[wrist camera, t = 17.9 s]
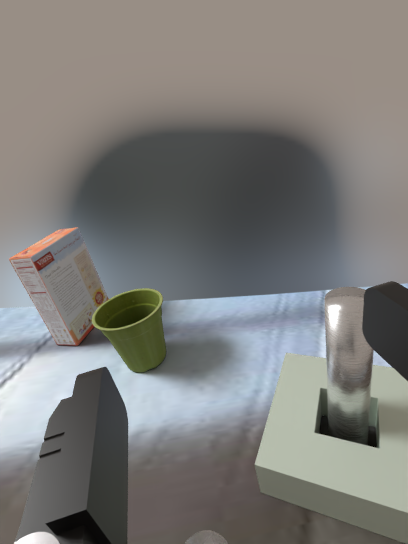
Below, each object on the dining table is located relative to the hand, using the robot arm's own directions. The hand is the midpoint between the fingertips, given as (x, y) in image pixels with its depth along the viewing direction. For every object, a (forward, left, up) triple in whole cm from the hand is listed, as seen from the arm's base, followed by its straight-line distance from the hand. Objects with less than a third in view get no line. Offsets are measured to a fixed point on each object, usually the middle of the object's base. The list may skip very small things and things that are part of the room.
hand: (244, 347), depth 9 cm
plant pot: (+25, +31, -30) cm, 50 cm away
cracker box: (+31, +52, -30) cm, 67 cm away
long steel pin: (+18, -3, -30) cm, 35 cm away
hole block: (+18, -2, -30) cm, 35 cm away
